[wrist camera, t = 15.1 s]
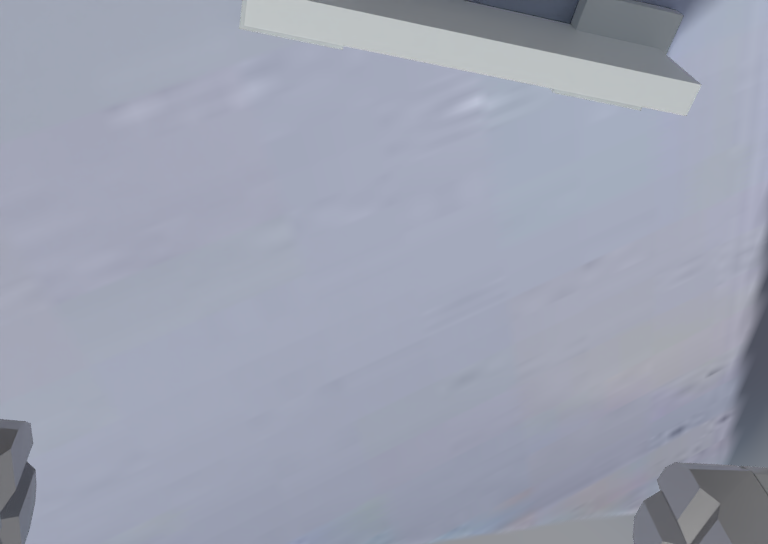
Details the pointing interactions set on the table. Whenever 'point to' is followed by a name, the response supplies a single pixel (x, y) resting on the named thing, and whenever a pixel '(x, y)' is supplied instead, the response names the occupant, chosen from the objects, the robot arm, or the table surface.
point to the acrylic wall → (504, 43)
